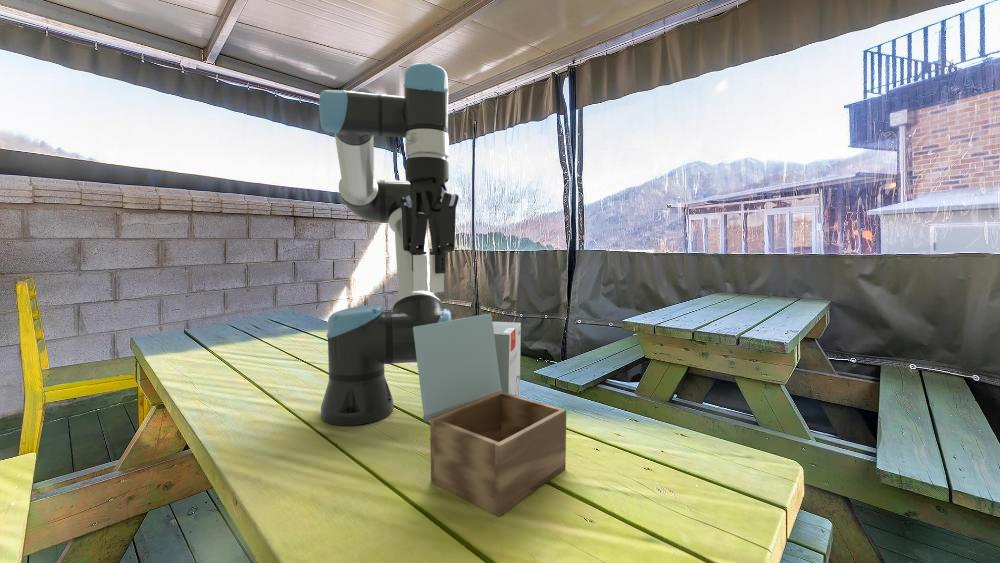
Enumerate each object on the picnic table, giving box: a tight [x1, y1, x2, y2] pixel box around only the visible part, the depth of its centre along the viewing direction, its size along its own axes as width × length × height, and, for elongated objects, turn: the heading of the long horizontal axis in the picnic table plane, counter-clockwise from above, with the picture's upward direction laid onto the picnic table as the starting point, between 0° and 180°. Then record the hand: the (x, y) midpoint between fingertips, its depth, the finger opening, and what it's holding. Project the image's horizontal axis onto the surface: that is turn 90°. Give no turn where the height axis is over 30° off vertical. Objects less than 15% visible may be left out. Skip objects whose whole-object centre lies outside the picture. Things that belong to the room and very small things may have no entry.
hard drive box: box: [492, 321, 522, 397], centre depth 92 cm, size 16×8×20 cm, turn 168°
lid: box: [413, 313, 502, 423], centre depth 74 cm, size 15×18×1 cm
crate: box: [429, 392, 567, 518], centre depth 70 cm, size 14×17×10 cm
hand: (428, 290), depth 79 cm, fingers open, 4 cm apart
